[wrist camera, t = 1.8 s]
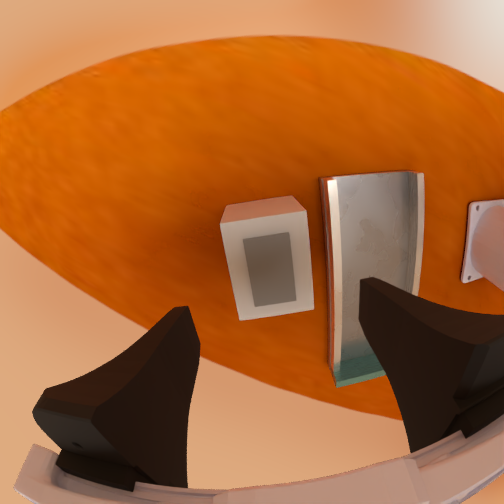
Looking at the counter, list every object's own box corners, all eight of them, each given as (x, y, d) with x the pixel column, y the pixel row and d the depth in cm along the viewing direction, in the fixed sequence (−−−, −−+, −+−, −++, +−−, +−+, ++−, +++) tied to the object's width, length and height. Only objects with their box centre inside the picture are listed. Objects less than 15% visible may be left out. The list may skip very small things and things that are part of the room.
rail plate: (318, 177, 18) (332, 183, 15) (410, 169, 18) (433, 175, 15) (327, 363, 24) (335, 387, 21) (397, 346, 24) (410, 366, 21)
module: (291, 194, 19) (307, 211, 14) (300, 273, 21) (315, 312, 16) (226, 204, 19) (219, 225, 14) (241, 282, 21) (239, 323, 16)
